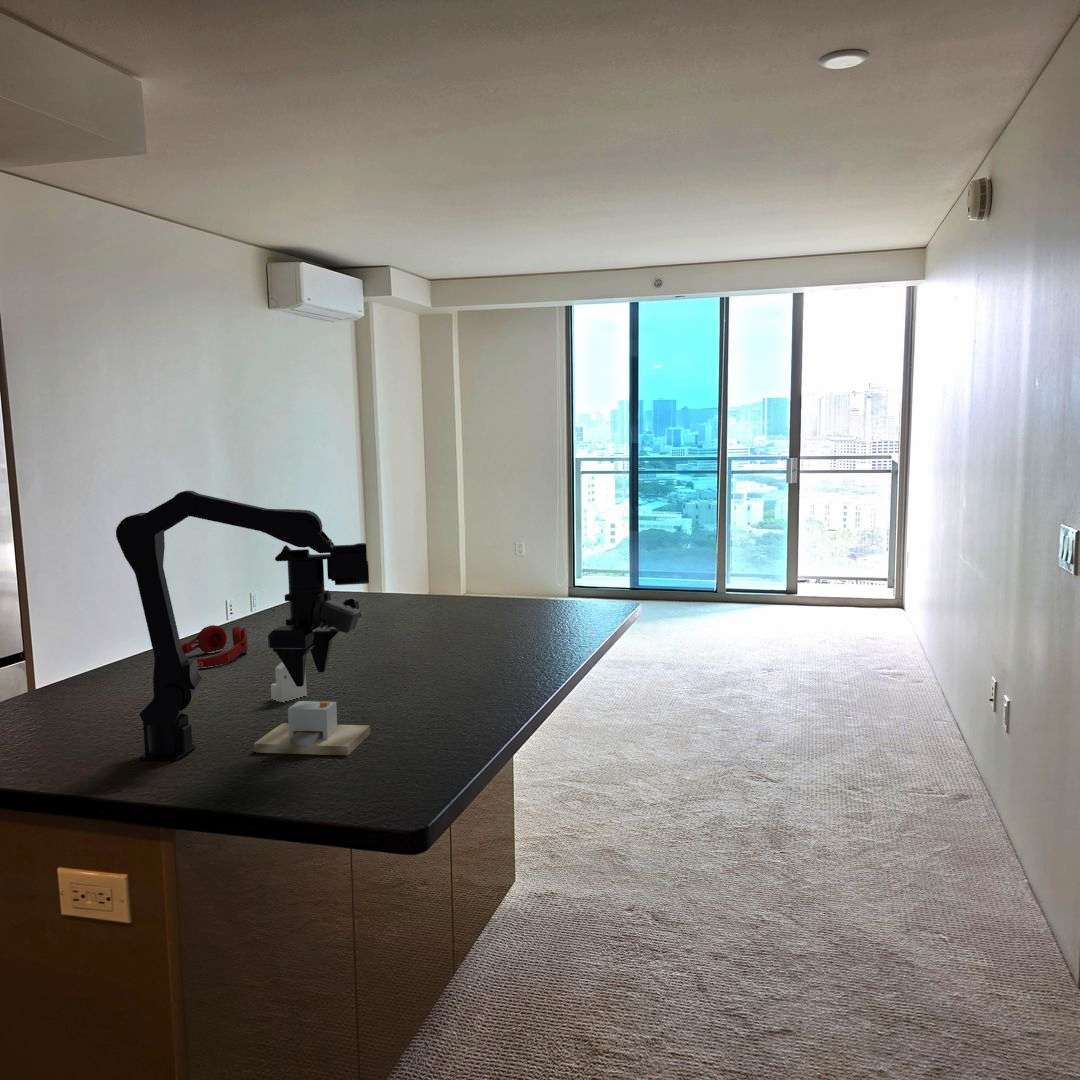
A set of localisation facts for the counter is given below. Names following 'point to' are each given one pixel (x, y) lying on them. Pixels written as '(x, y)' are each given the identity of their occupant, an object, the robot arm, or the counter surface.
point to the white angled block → (286, 686)
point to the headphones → (217, 645)
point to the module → (313, 717)
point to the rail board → (312, 741)
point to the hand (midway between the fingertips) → (311, 679)
